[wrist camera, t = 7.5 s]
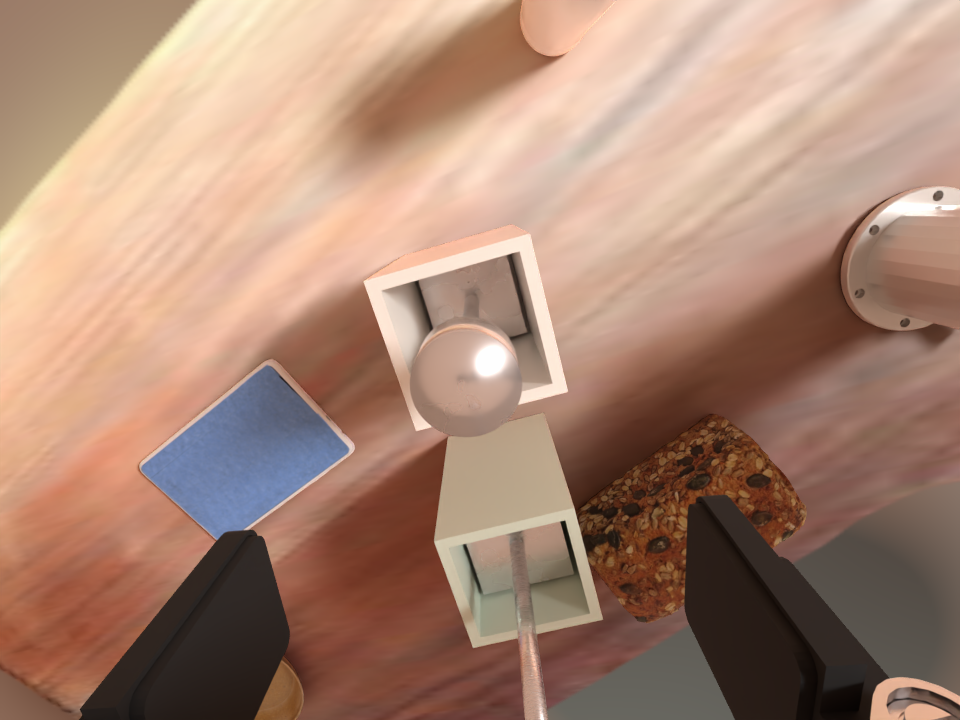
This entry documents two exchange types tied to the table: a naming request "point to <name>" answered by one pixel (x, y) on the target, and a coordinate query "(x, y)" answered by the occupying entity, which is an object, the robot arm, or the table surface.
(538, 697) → the silver rod piece
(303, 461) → the tablet computer
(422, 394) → the plunger white
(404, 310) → the press white
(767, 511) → the bread
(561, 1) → the drinking glass
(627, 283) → the table surface
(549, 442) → the press sage
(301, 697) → the plant saucer
